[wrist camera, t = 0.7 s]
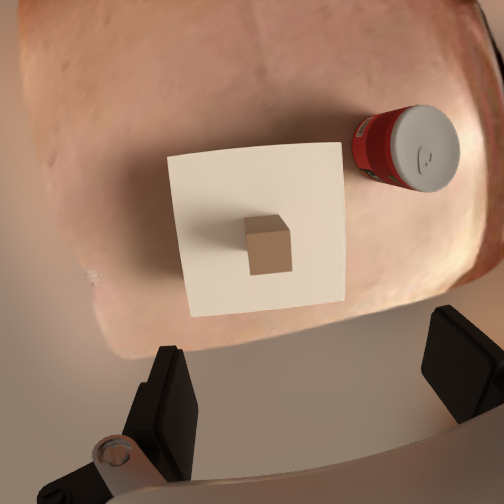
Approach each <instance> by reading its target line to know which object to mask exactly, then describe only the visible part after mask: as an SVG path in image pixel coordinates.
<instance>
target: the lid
mask: <svg viewBox="0 0 504 504" xmlns="http://www.w3.org/2000/svg"><path fill="white" fill-rule="evenodd" d="M167 161H168V170H169V178H170V187H171V195H172V202H173V210H174V217H175V224H176V231H177V238H178V244H179V251H180V257H181V263H182V269H183V275H184V281H185V286H186V292H187V297H188V303H189V308H190V313H191V317H199V316H212V315H223V314H234V313H245V312H255V311H264V310H274V309H282V308H291V307H299V306H307V305H315V304H323V303H330V302H338V301H345V263H346V248H345V200H344V178H343V161H342V146H341V142H327V143H301V144H283V145H269V146H256V147H245V148H234V149H225V150H215V151H207V152H199V153H191V154H184V155H177V156H170V157H167Z"/></svg>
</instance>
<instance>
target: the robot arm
mask: <svg viewBox="0 0 504 504" xmlns="http://www.w3.org/2000/svg"><path fill="white" fill-rule="evenodd" d="M421 371H422V374H423V376H424V378H425V379H426V380H427V382H428V383H429V384H430V386H431V387H432V388H433V390H434V391H435V392H436V394H437V395H438V396H439V398H440V399H441V401H442V402H443V403H444V405H445V406H446V407H447V409H448V410H449V412H450V413H451V415H452V416H453V417H454V419H455V420H456V422H457V423H458V425H457V426H455V427H452V428H450V429H447V430H445V431H442V432H440V433H437V434H434V435H432V436H429V437H426V438H424V439H421V440H418V441H415V442H413V443H409V444H406V445H404V446H400V447H397V448H394V449H391V450H387V451H384V452H381V453H377V454H374V455H370V456H366V457H362V458H359V459H354V460H350V461H346V462H342V463H337V464H332V465H327V466H322V467H317V468H312V469H306V470H300V471H294V472H286V473H279V474H271V475H262V476H253V477H242V478H229V479H211V480H194V481H191V473H192V464H193V454H194V445H195V436H196V428H197V419H198V404H197V400H196V397H195V393H194V390H193V386H192V383H191V379H190V375H189V372H188V368H187V364H186V361H185V357H184V353H183V350H182V349H177V347H176V346H175V345H174V346H160V347H159V350H158V352H157V355H156V358H155V361H154V364H153V367H152V369H151V372H150V375H149V378H148V381H147V382H142V383H140V385H139V387H138V390H137V393H136V396H135V398H134V401H133V404H132V406H131V410H130V412H129V415H128V418H127V421H126V424H125V427H124V429H123V432H122V435H111V436H108V437H105V438H104V439H102V440H100V441H99V442H98V443H97V444H96V445H95V447H94V449H93V451H92V459H93V462H91V463H89V464H87V465H85V466H84V467H81V468H79V469H78V470H76V471H74V472H72V473H70V474H68V475H66V476H63V477H62V478H59V479H57V480H55V481H53V482H51V483H49V484H47V485H46V486H44V487H43V488H42V489H41V490H40V491H39V494H38V496H37V504H504V351H503V350H502V349H501V348H500V347H499V346H498V345H497V344H496V343H494V342H493V341H492V340H491V339H490V338H489V337H488V336H486V335H485V334H484V333H483V332H482V331H481V330H479V329H478V328H477V327H476V326H475V325H474V324H472V323H471V322H470V321H469V320H468V319H466V318H465V317H464V316H463V315H462V314H461V313H459V312H458V311H457V310H456V309H454V308H453V307H452V306H451V305H444V306H440V307H437V308H436V309H435V310H434V312H433V313H432V315H431V320H430V326H429V332H428V337H427V342H426V347H425V352H424V356H423V361H422V365H421Z"/></svg>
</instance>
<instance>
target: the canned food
mask: <svg viewBox="0 0 504 504" xmlns="http://www.w3.org/2000/svg"><path fill="white" fill-rule="evenodd" d="M352 154H353V157H354V160H355V162H356V164H357V166H358V168H359V169H360V170H361V172H362V173H363V174H364V175H365V176H367V177H368V178H370V179H371V180H374V181H377V182H381V183H386V184H390V185H394V186H398V187H402V188H406V189H410V190H415V191H419V192H436V191H439V190H441V189H443V188H444V187H445V186H447V185H448V184H449V183H450V181H451V180H452V179H453V177H454V175H455V173H456V171H457V168H458V165H459V160H460V144H459V139H458V135H457V133H456V130H455V128H454V126H453V124H452V122H451V121H450V120H449V118H448V117H447V116H446V115H445V114H444V113H443V112H442V111H440V110H439V109H437V108H435V107H432V106H429V105H415V106H410V107H406V108H401V109H397V110H393V111H389V112H385V113H382V114H378V115H374V116H370V117H368V118H367V119H365V120H364V121H363V122H362V123H360V125H359V126H358V128H357V129H356V131H355V133H354V136H353V140H352Z"/></svg>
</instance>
